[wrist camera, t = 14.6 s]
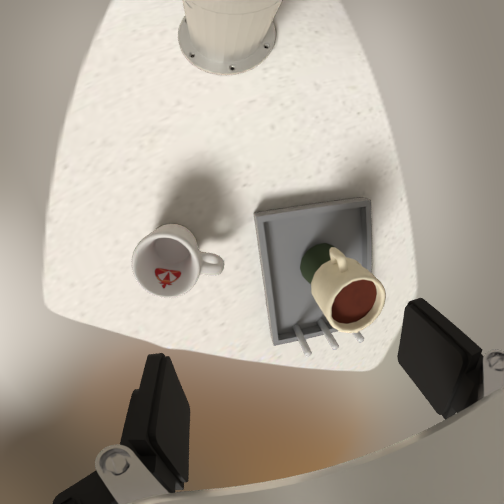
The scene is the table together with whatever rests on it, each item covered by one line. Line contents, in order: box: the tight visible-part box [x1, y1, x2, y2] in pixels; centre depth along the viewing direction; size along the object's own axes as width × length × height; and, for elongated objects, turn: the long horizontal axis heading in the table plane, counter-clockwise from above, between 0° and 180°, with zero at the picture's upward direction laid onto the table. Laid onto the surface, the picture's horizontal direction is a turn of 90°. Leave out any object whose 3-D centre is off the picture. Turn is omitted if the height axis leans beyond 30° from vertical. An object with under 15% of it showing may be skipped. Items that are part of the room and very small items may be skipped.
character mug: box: [300, 243, 386, 333], centre depth 36 cm, size 11×7×13 cm, turn 19°
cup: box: [132, 224, 224, 298], centre depth 36 cm, size 11×8×8 cm
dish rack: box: [254, 197, 372, 357], centre depth 40 cm, size 20×16×8 cm
